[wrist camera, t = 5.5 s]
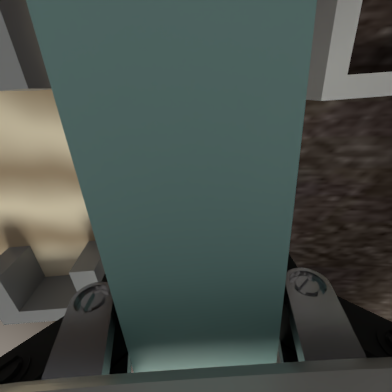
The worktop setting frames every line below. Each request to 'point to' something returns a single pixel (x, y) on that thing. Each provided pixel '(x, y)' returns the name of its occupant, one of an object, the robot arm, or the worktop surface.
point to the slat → (185, 162)
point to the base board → (39, 183)
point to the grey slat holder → (23, 256)
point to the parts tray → (340, 56)
